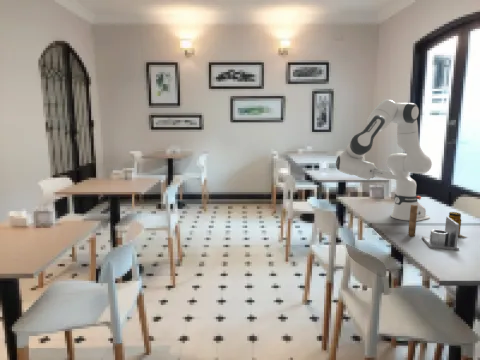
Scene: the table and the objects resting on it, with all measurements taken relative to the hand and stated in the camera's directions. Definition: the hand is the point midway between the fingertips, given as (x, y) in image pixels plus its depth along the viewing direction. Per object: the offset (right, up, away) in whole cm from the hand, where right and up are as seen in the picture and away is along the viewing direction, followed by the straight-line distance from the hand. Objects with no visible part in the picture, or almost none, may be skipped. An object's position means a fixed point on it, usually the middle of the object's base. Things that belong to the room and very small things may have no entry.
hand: (394, 177), depth 181 cm
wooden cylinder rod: (+10, -30, +3) cm, 31 cm away
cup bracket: (+17, -32, -9) cm, 37 cm away
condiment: (+33, -30, +4) cm, 45 cm away
